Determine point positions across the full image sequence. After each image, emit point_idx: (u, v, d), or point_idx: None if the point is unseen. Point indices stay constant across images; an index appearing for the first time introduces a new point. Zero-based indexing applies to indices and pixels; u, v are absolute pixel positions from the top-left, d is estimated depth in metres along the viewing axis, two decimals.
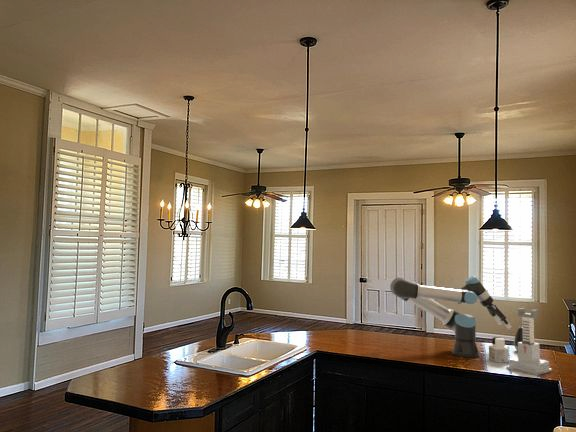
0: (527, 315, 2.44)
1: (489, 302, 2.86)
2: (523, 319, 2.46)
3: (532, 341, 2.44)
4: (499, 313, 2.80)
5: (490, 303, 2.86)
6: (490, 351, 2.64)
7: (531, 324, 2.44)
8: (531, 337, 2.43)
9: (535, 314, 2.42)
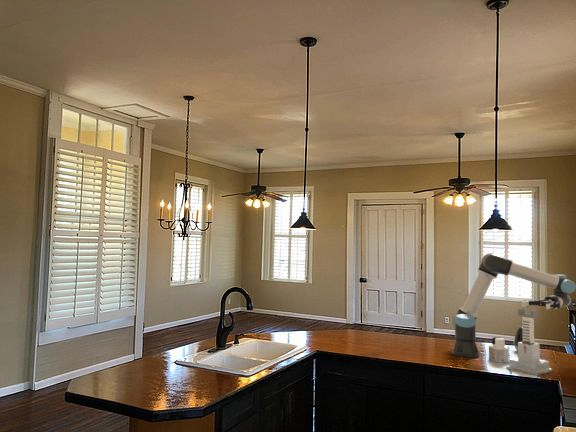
0: (527, 315, 2.44)
1: (557, 303, 2.65)
2: (523, 319, 2.46)
3: (532, 341, 2.44)
4: None
5: (556, 303, 2.65)
6: (490, 351, 2.64)
7: (531, 324, 2.44)
8: (531, 337, 2.43)
9: (535, 314, 2.42)
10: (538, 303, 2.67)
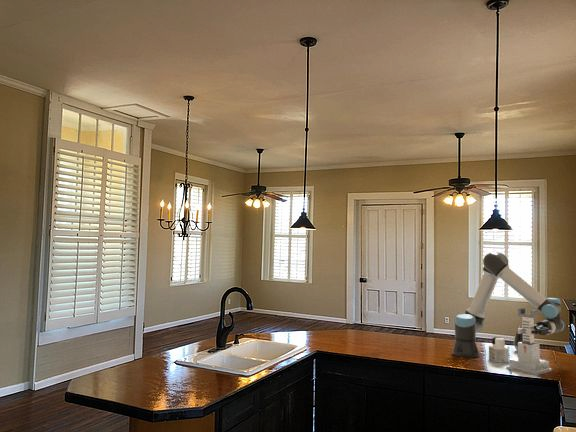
0: (527, 315, 2.44)
1: None
2: (523, 319, 2.46)
3: (532, 341, 2.44)
4: (545, 331, 2.44)
5: None
6: (490, 351, 2.64)
7: (531, 324, 2.44)
8: (531, 337, 2.43)
9: (535, 314, 2.42)
10: None
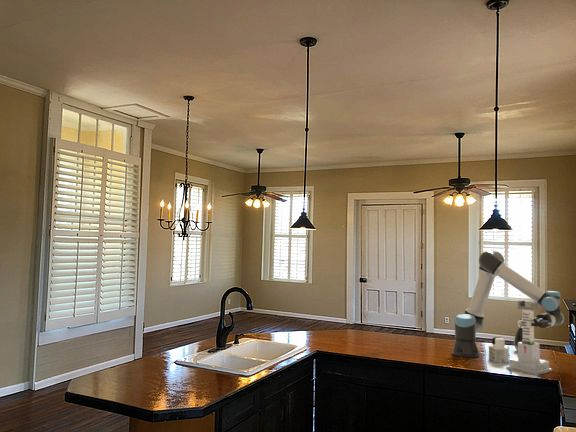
0: (527, 307, 2.44)
1: None
2: (523, 312, 2.46)
3: (532, 333, 2.44)
4: (544, 323, 2.44)
5: None
6: (490, 351, 2.64)
7: (531, 316, 2.44)
8: (531, 329, 2.43)
9: (535, 306, 2.43)
10: None
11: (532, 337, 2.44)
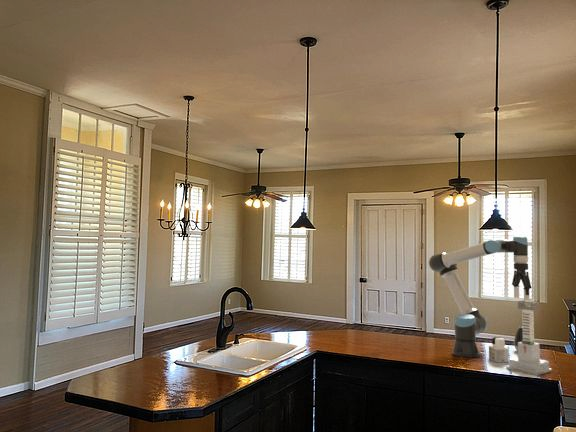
0: (527, 307, 2.44)
1: (523, 267, 2.65)
2: (523, 312, 2.46)
3: (532, 333, 2.44)
4: (527, 281, 2.60)
5: (523, 269, 2.65)
6: (490, 351, 2.64)
7: (531, 316, 2.44)
8: (531, 329, 2.43)
9: (535, 306, 2.43)
10: (519, 279, 2.72)
11: (532, 337, 2.44)
